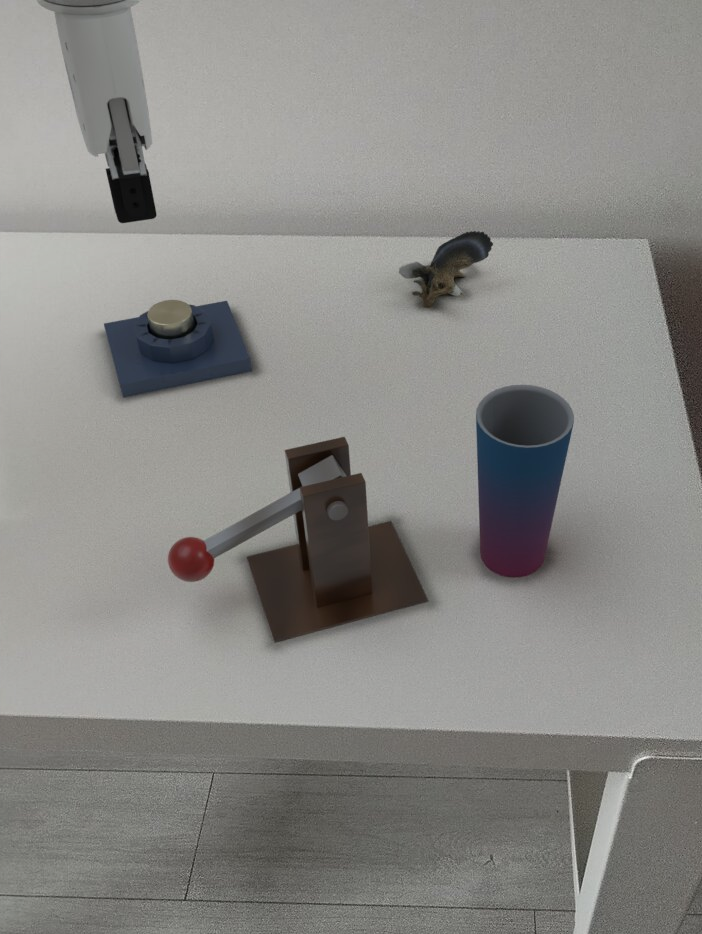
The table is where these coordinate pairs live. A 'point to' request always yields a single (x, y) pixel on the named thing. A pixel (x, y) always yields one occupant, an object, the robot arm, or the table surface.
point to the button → (171, 319)
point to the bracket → (332, 555)
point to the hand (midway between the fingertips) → (136, 216)
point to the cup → (519, 474)
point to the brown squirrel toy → (448, 265)
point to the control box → (177, 351)
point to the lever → (244, 527)
